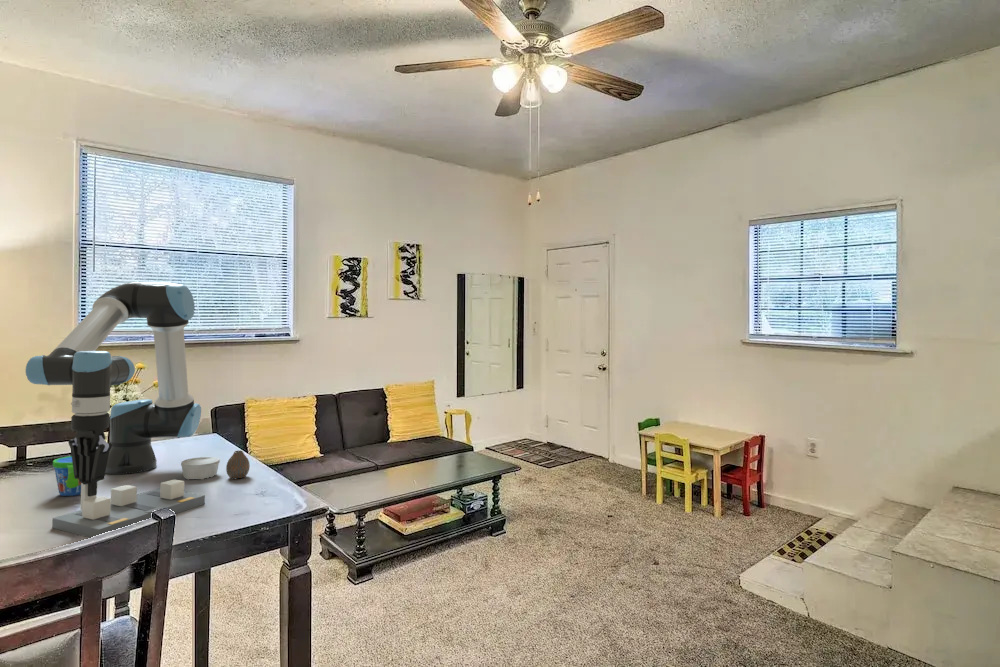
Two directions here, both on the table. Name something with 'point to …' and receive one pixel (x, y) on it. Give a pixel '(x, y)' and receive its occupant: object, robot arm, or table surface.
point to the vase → (238, 465)
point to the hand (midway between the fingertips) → (88, 508)
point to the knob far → (172, 489)
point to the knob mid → (123, 495)
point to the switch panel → (125, 513)
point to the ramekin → (200, 467)
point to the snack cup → (66, 477)
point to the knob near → (96, 507)
